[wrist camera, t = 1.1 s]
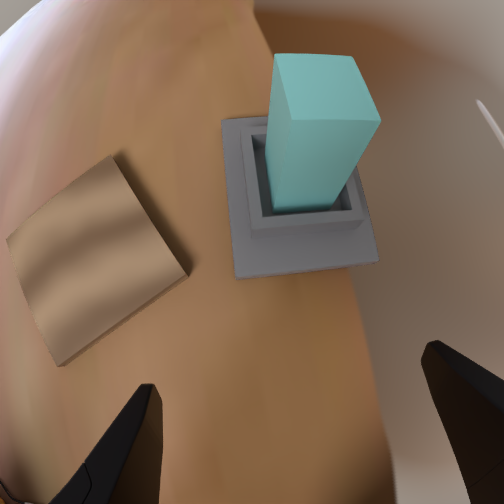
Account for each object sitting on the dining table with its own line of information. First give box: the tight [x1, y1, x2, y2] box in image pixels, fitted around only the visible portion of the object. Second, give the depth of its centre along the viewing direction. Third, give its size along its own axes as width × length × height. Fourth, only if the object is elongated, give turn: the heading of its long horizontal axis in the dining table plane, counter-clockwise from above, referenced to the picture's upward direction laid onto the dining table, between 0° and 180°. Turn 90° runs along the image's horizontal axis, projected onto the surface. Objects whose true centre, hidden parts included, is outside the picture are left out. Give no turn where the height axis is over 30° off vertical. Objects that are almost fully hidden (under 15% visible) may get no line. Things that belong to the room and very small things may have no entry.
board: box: [6, 155, 188, 367], centre depth 23 cm, size 13×13×1 cm
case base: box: [221, 116, 379, 280], centre depth 24 cm, size 14×11×3 cm
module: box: [264, 54, 381, 214], centre depth 19 cm, size 5×4×11 cm
